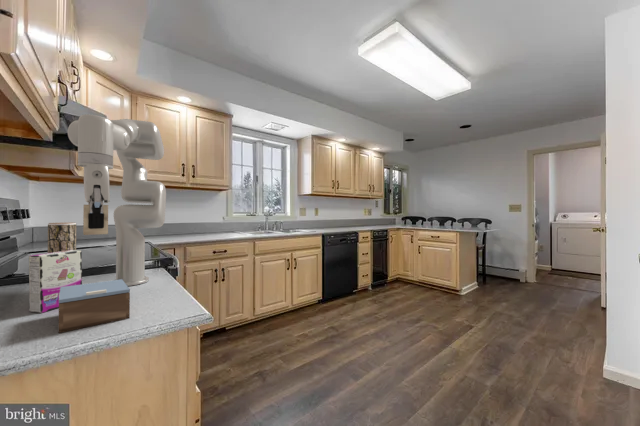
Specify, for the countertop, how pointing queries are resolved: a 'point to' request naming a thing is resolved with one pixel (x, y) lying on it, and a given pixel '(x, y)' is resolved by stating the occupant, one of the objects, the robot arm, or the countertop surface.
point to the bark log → (61, 237)
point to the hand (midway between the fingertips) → (95, 227)
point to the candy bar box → (52, 277)
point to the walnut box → (93, 311)
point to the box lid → (92, 290)
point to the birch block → (85, 222)
